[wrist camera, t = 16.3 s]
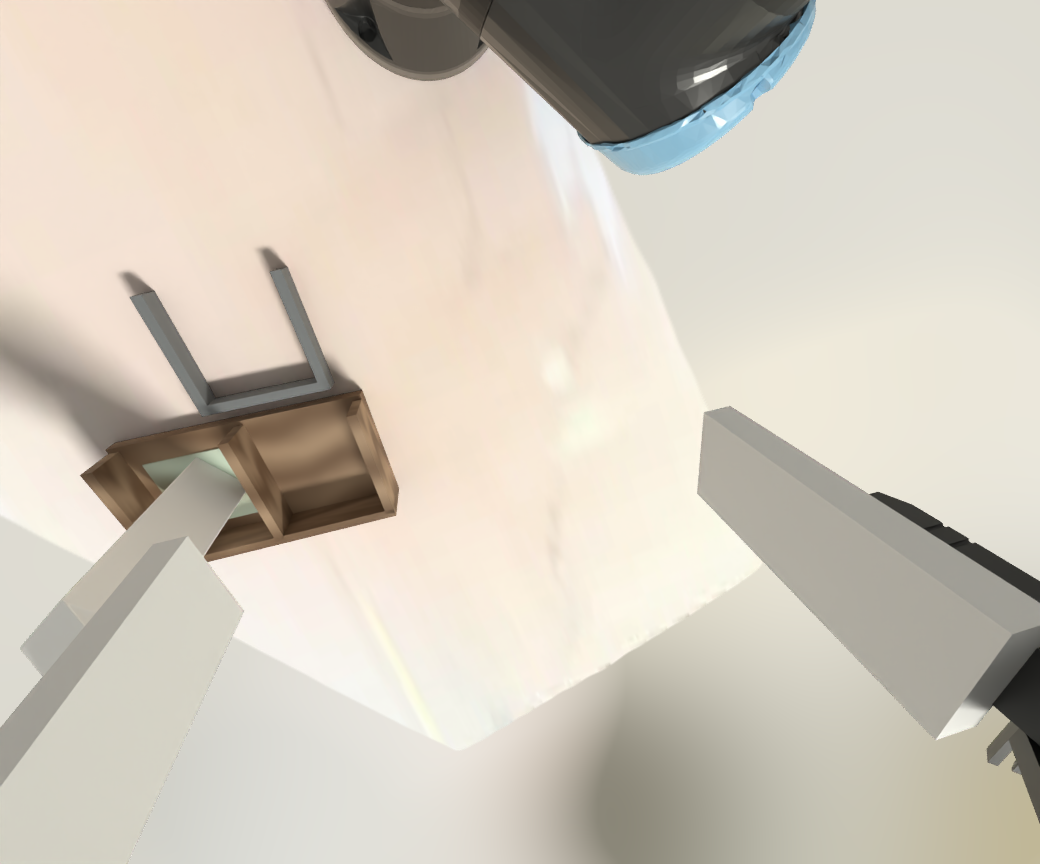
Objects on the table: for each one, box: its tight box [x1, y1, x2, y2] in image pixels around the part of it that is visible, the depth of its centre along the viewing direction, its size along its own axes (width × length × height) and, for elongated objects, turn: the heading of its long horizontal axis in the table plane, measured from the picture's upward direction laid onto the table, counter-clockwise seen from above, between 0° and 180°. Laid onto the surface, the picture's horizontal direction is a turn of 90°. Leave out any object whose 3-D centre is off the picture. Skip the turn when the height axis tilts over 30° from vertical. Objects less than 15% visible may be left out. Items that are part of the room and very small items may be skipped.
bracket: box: [130, 267, 335, 416], centre depth 40 cm, size 12×13×2 cm
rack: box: [80, 390, 399, 562], centre depth 46 cm, size 14×26×6 cm, turn 99°
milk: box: [20, 458, 246, 676], centre depth 36 cm, size 6×6×22 cm
